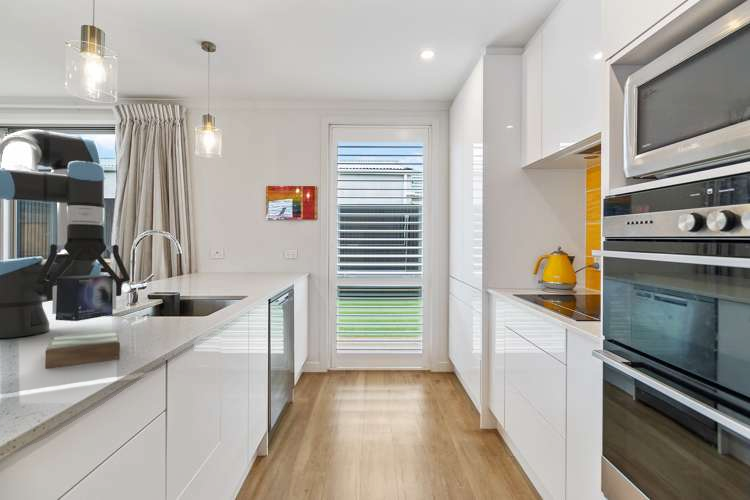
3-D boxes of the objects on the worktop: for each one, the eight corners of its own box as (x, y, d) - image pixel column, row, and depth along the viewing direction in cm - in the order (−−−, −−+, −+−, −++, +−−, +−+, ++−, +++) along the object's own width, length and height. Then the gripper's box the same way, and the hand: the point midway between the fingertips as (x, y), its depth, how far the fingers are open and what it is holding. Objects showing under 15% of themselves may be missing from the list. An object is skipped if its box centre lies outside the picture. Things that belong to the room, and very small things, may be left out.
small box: (77, 321, 93) (77, 277, 93) (54, 320, 94) (54, 277, 94) (114, 314, 103) (114, 274, 103) (93, 314, 104) (93, 274, 104)
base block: (52, 352, 101) (52, 336, 101) (117, 345, 109) (117, 330, 109) (45, 368, 88) (45, 349, 88) (119, 358, 96) (119, 341, 96)
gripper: (20, 221, 89) (20, 317, 89) (141, 225, 102) (141, 308, 102) (26, 223, 95) (25, 313, 95) (139, 226, 109) (139, 305, 108)
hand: (85, 311), depth 99 cm, fingers closed on small box, 11 cm apart
